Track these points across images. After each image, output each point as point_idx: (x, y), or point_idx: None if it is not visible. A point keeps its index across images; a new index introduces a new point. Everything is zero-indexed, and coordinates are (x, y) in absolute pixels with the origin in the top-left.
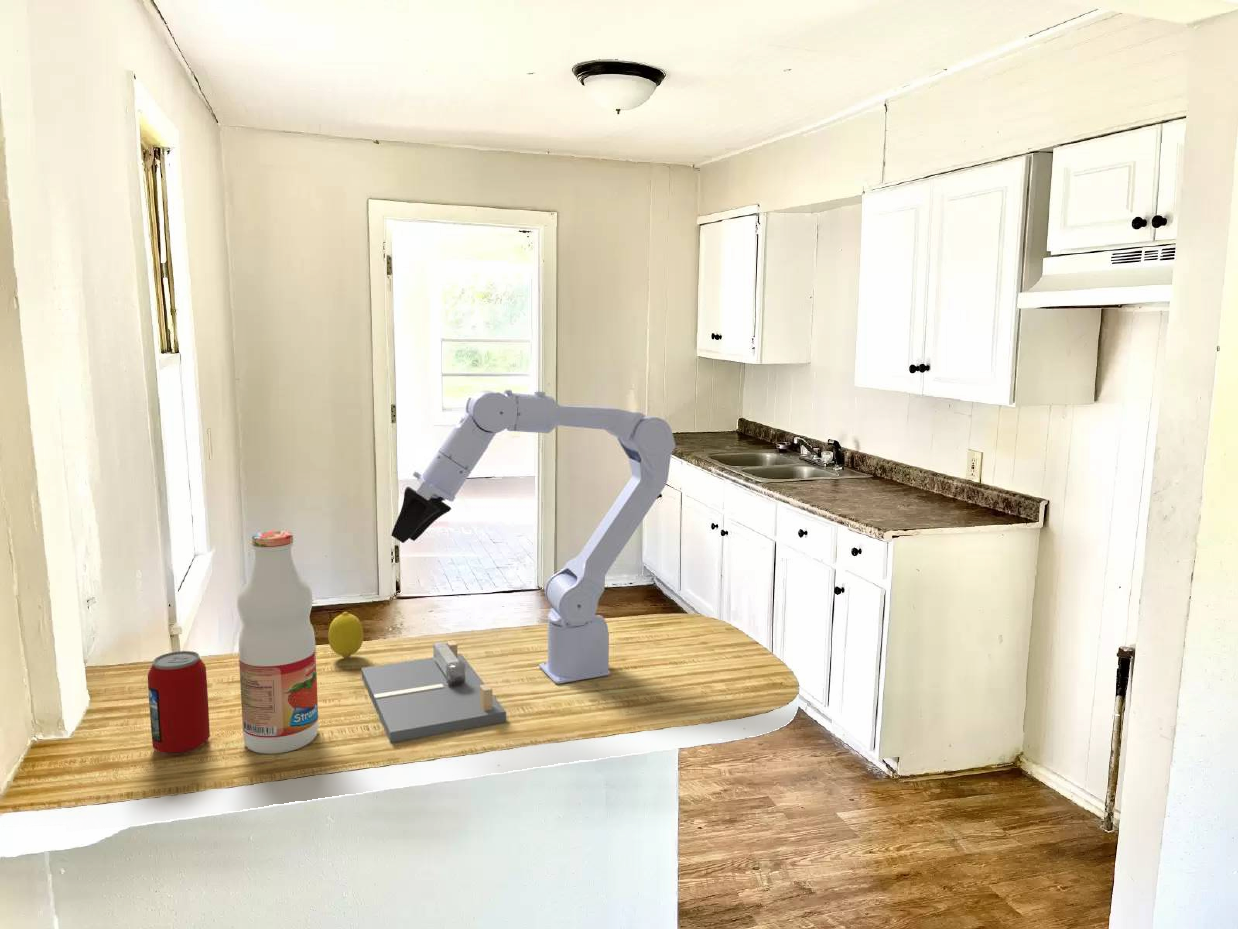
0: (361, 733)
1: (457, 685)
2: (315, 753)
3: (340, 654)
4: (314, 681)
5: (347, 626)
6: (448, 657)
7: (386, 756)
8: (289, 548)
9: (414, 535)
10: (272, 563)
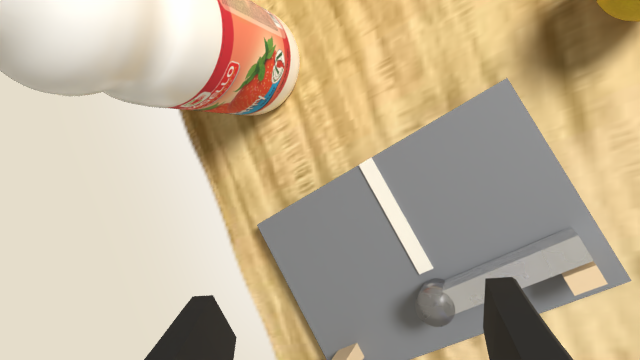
0: (286, 171)
1: None
2: (229, 132)
3: None
4: (206, 110)
5: None
6: (479, 287)
7: (234, 226)
8: None
9: (489, 347)
10: None
